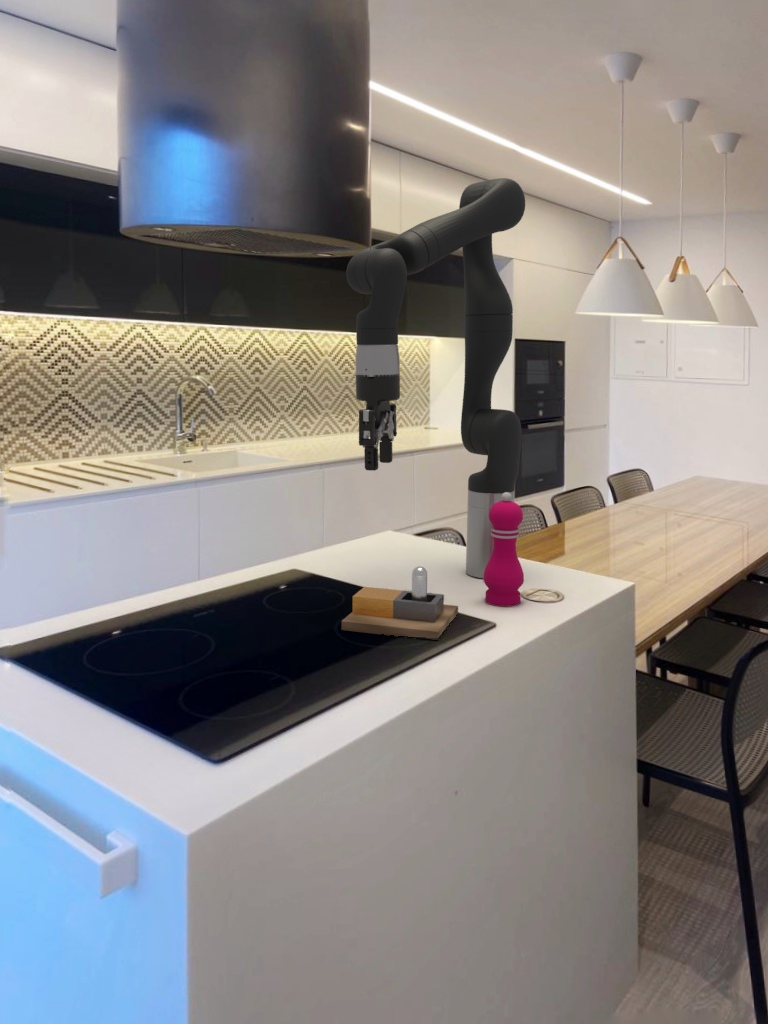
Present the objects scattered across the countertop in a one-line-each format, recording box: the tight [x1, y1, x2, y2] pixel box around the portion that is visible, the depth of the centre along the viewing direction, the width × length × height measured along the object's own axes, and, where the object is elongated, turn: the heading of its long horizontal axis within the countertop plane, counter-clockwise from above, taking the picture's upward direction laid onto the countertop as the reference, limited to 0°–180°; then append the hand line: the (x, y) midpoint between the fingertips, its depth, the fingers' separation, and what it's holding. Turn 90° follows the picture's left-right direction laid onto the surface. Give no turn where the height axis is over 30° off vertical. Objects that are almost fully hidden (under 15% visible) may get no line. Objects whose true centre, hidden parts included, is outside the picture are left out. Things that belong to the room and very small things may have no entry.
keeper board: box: [341, 604, 459, 638], centre depth 136 cm, size 14×16×2 cm
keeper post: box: [411, 566, 428, 602], centre depth 134 cm, size 2×2×8 cm
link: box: [352, 586, 445, 623], centre depth 136 cm, size 6×14×3 cm, turn 72°
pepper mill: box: [482, 492, 525, 607], centre depth 146 cm, size 7×7×20 cm
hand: (379, 466), depth 143 cm, fingers open, 8 cm apart
